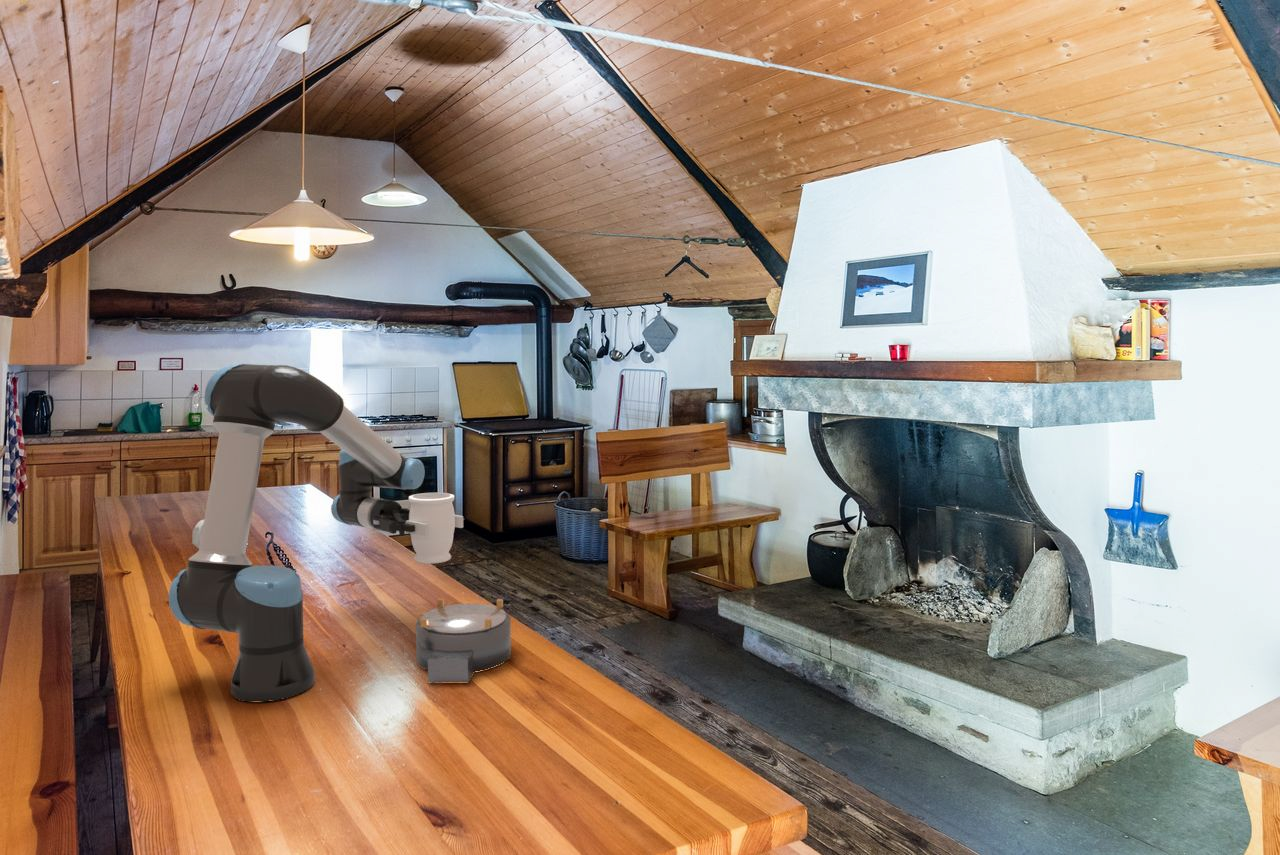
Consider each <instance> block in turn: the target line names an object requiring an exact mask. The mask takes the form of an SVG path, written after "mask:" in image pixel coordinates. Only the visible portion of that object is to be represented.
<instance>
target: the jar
mask: <svg viewBox="0 0 1280 855" xmlns="http://www.w3.org/2000/svg"><path fill="white" fill-rule="evenodd" d="M454 501H455V494H452V493H449V492H423V493H416V494H411V495H409V496H408V502H409V503H410V506H409V510H410V512H409V521H414V522H421V523H426V524H428V536H421V535H416V534H411V533H409V534H410V539H411V540H410V541H411V544H412V548H413V550H414V552H415V553H416V554H415V555H414V558H413V560H414V561H415V562H416V563H420V564H427V565H428V564H439V563H440V564H441V563H444V562H448V561H450V560H451V559H452V555H451V553H450V550H451V549H452V546H453V542H454V535H455V534H454V533H455V528H456V527H455V515H456V514H455V508H454V504H453V502H454Z"/></svg>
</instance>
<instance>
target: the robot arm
mask: <svg viewBox="0 0 1280 855" xmlns="http://www.w3.org/2000/svg"><path fill="white" fill-rule="evenodd" d="M204 404H205V405H206V406H207V407H206V410H207V411H208V413H209V414H210V415H211V416H212V417H213V419H212V420H213V421H212V425H213V427H214V428H215V430H216V431H217V432H218V439H217V440H218V441H217V445H216V450H215V455H214V456H215V457H214V462H213V467H212V473H211V479H210V484H209V491H208V497H207V502H206V506H205V514H204V519H203V520H204V524H203V530H202V535H201V541H200V547H199V548H198V551H197V552H196V553H194V554H193V555H191V556H190V557H189V558H188V560H187V561H188V562H187V566H186V568H184V569H182V570H180V572H178V573H177V577H175V578H173V580H172V581H171V584H170V587H169V590H168V604H169V608H170V610H171V613H172V615H173V616H175V618H176V620H178V621H179V623H181V624H184V625H186V626H188V627H193V628H196V629H199V630H214V631H220V632H226V633H236V634H238V635H237V636H238V656H237V659H236V663H235V667H234V670H233V673H232V677H231V680H230V694H232V695H233V696H234V697H235V698H237V699H240V700H244V701H269V700H277V701H279V700H278V699H282V698H286V699H288V698H287V697H290V696H293V695H296V694H298V695H300V694H299V693H301V694H302V692H303V693H304V691H305V692H306V691H308V690H309V689H311V688H312V687H313V686H314V684H315V681H316V679H315V669H314V666H313V664H312V661H311V659H310V657H309V654H308V652H307V649H306V647H305V644H304V643H305V642H304V612H303V611H304V608H303V605H304V603H303V602H304V600H303V598H304V594H303V593H304V592H303V589H302V581H301V578H300V575H299V574H298V573H297V572H296V571H295V570H293V569H291V568H289V567H284V566H281V565H273V564H271V565H263V564H260V565H253V562H252V561H251V560H250V559H249V558H248V556H247V554H246V553H247V547H248V541H249V535H250V528H251V522H252V517H253V510H254V505H255V498H256V494H257V492H256V491H257V487H258V479H259V475H260V467H261V462H262V456H263V450H264V444H265V440H266V439H267V438H268V437H270V436H271V435H272V434H274V432H275V426H276V422H277V423H278V422H282V423H283V422H285V423H291V424H297V425H299V426H302V427H304V428H305V429H307V431H310V432H312V433H320V434H321V435H322V436H324V437H325V438H327V439H328V440H329V441H331V443H333V444H335V445H336V446H337V447H339V448H340V451H339V454H338V483H339V492H338V493H339V494H337V496H336V497H335V498H334V499H333V501H332V503H331V507H330V512H331V515H332V516H333V518H334V520H336V521H337V522H340V523H343V524H346V525H349V526H357V527H363V528H368V529H371V530H372V532H375V531H376V530H378V531H381V532H386V533H390V534H393V535H394V534H397V532H399V536H402V537H403V536H405V535H406V533H407V534H410V533H411V534H416V535H421V536H428V524H426V523H421V522H414V521H409V512H410V508H409V509H408V508H406V507H405V508H403V507H402V505H401V504H400V503H399V502H398V501H395V500H391V499H390V500H389V499H385V498H378V497H373V496H372V488H383V489H396V490H398V489H400V490H415V489H418V488H419V487H421V486H422V484H423V482H424V478H425V472H426V471H425V466H424V463H423V462H422V461H421V460H420V459H418V458H412V457H405V456H404V455H402V454H401V453H400V452H398V450H396V449H395V448H394V447H392V445H390V444H389V443H388V442H387V440H385V439H384V438H382V437H381V436H380V435H379V434H378V433H377V432H375V431H374V430H373V429H372V428H371V427H369V425H367V424H366V423H365V422H364V421H363V420H362V419H360V418H359V417H358V416H357V415H355V413H353V412H352V411H351V410H349V408H348V407H346V406H345V401H344V399H343V397H342V396H341V395H340V394H339V393H337V391H335V390H334V389H333V388H331V387H330V386H329V385H327V384H326V383H325V382H323V381H322V380H320V379H318V378H317V377H315V376H314V375H312V374H310V372H309V373H308V372H306V371H304V370H302V369H300V368H298V367H295V366H290V365H285V364H284V365H282V364H278V365H277V364H276V365H274V364H251V363H250V364H249V363H246V364H245V363H242V364H239V363H238V364H234V365H227V366H224V367H221V368H220V369H219V370H216V371H215V372H214V373H213V374H212V376H210V378H209V379H208V381H207V383H206V387H205V390H204ZM455 528H459V529H462V528H464V516H463V515H458V514H455ZM232 695H231V696H232ZM233 696H232V697H233ZM296 696H297V695H296ZM234 697H233V698H234ZM293 697H294V696H293ZM235 698H234V699H235ZM290 698H291V697H290ZM237 699H236V700H237ZM240 700H239V701H240ZM282 700H283V699H282ZM244 701H243V702H244Z"/></svg>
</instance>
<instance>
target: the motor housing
mask: <svg viewBox="0 0 1280 855" xmlns="http://www.w3.org/2000/svg"><path fill="white" fill-rule="evenodd" d="M436 603H437V604H436V607H435V608H433V609H431V610H428V611H427V612H425V613H424V614H422V616H421V617H420V618H419V619H417V620H416V622H415V640H416V642H415V643H416V645H415V646H416V647H415V648H416V663H418V664H419V665H420V666H421V667H423V668H425V669H426V670H425V671H427V670H428V671H427V680H428V681H427V683H428V682H469V683H470V681H471V679H472V678H471V676H472V674H473V675H474V673H473V672H475V671H480V670H485V669H488V668H491V667H494V666H496V665H499V664H501V663H503V662H505V661H506V660H507V659H508V658H509V657H510V658H511V656H510V655H512V652H511V651H512V643H511V642H512V640H511V639H512V638H511V635H512V634H511V633H512V631H511V629H512V628H511V615H510V614H509V613H508V612H506V611H505V610H504V609H503V607H504V599H503V598H497V600H496V605H492V604H485V603H476V602H475V603H472V602H471V603H469V602H468V603H456V604H449V605H445V598H438V599H437V600H436ZM510 658H509V659H510ZM505 663H506V662H505ZM418 664H417V665H418ZM419 665H418V666H419ZM420 666H419V667H420ZM421 667H420V668H421ZM472 677H473V676H472ZM470 678H471V679H470ZM469 680H470V681H469Z"/></svg>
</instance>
